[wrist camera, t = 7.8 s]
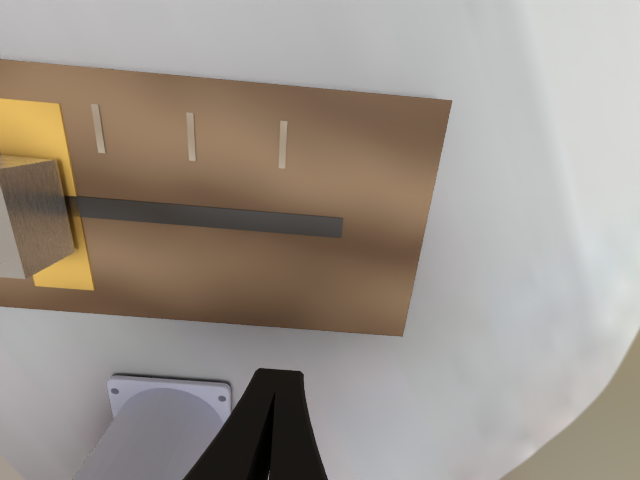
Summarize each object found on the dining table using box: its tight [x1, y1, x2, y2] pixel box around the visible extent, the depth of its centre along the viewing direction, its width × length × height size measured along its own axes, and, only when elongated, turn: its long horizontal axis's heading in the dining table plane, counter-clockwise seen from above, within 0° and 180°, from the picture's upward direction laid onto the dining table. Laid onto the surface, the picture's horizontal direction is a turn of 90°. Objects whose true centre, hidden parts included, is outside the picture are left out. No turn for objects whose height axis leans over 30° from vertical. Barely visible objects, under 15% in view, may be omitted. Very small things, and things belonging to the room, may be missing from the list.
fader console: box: [0, 59, 452, 337], centre depth 16 cm, size 12×26×2 cm, turn 85°
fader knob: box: [0, 155, 75, 279], centre depth 14 cm, size 4×3×3 cm
